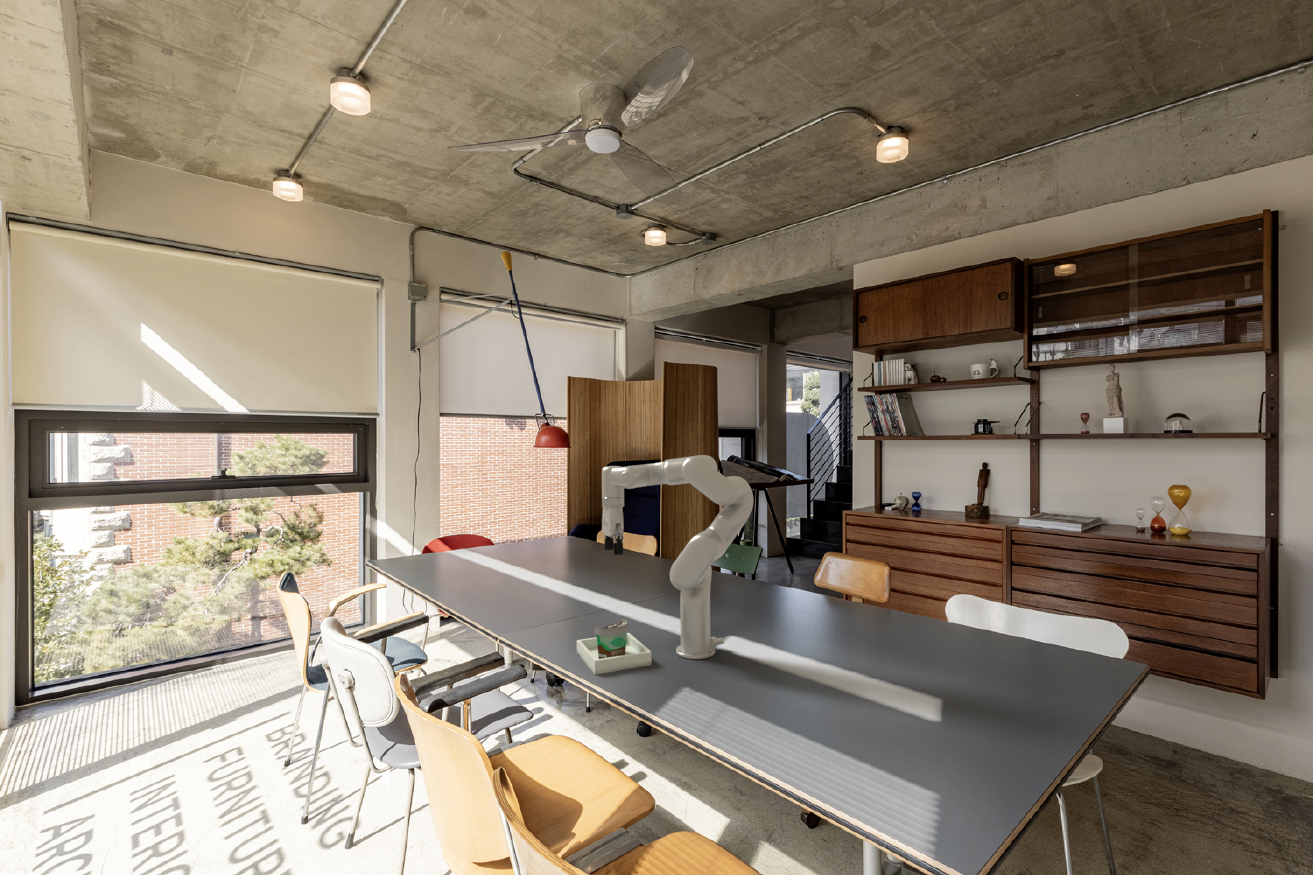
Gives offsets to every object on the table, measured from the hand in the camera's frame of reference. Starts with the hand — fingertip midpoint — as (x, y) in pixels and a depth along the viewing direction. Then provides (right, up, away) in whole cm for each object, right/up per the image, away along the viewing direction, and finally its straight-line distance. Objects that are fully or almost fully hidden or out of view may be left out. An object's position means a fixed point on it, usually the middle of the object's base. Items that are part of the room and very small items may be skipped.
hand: (613, 552), depth 207 cm
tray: (+1, -30, -17) cm, 35 cm away
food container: (+2, -30, -18) cm, 35 cm away
